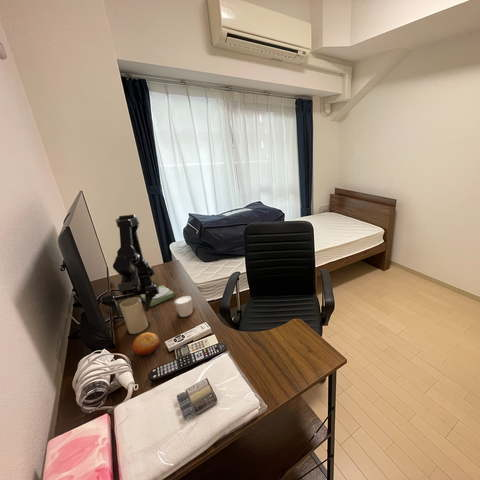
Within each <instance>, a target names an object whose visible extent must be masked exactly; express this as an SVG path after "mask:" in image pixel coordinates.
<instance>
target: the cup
mask: <svg viewBox="0 0 480 480" xmlns="http://www.w3.org/2000/svg"><path fill="white" fill-rule="evenodd" d="M119 308H120V313H121V314H122V317H123V321H124V323H125V326H126V329H127V332H128V333H129V334H131V335H135V334H141V333H142V332H144V331H145V330H146V329H147V328H148V327H149V323H148V319H147V316H146V311H145V309H144V305H143V303H142V299H141V298H140V297H138V296H134V297H130V298H125V299H123V300H122V301H121V302H120V303H119Z"/></svg>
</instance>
